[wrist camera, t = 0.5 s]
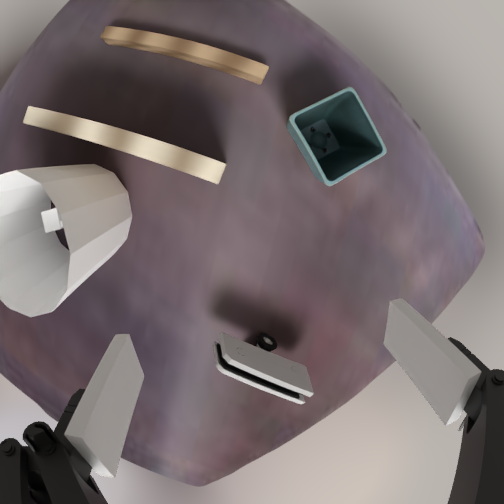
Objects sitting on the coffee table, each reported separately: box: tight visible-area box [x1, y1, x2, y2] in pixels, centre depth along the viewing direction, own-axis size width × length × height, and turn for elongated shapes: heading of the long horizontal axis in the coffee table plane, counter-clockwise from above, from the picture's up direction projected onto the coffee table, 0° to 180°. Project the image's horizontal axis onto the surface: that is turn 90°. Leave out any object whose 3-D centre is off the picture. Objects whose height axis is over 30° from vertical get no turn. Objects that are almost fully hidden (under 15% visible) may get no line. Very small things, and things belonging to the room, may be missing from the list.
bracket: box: [213, 332, 314, 405], centre depth 40 cm, size 4×10×15 cm
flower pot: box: [287, 87, 387, 186], centre depth 32 cm, size 9×9×9 cm
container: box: [0, 164, 132, 317], centre depth 28 cm, size 14×14×18 cm
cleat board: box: [23, 26, 269, 184], centre depth 27 cm, size 24×16×12 cm, turn 68°
